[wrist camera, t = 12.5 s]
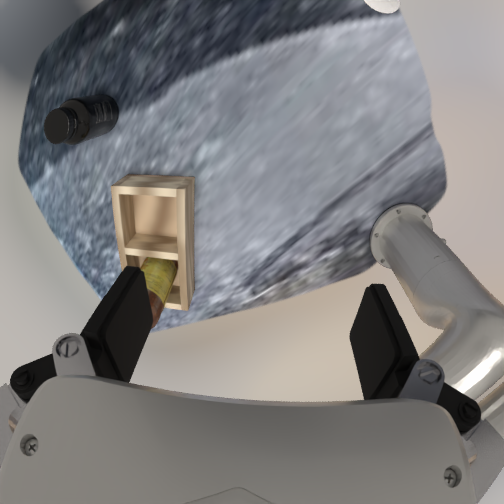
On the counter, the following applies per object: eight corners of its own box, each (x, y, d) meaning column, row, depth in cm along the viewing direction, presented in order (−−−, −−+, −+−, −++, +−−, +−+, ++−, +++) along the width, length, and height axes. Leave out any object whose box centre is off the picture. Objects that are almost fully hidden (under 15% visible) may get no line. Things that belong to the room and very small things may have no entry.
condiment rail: (194, 177, 43) (184, 189, 37) (194, 289, 54) (188, 310, 48) (127, 174, 42) (110, 186, 37) (138, 282, 53) (128, 301, 48)
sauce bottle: (145, 245, 48) (95, 325, 31) (179, 250, 48) (141, 335, 31) (148, 276, 51) (107, 357, 34) (180, 281, 51) (148, 367, 34)
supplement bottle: (91, 90, 35) (45, 95, 25) (124, 100, 36) (82, 106, 26) (80, 128, 38) (34, 144, 28) (111, 140, 39) (69, 158, 29)
